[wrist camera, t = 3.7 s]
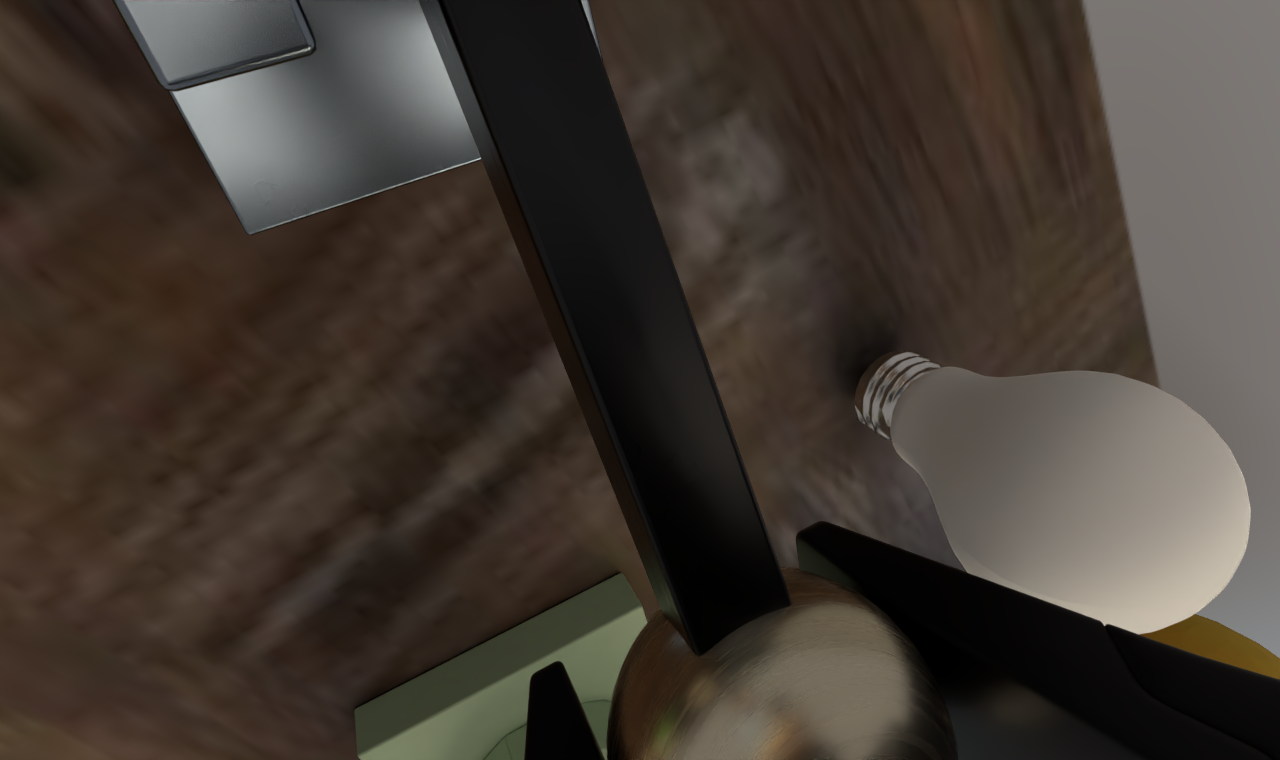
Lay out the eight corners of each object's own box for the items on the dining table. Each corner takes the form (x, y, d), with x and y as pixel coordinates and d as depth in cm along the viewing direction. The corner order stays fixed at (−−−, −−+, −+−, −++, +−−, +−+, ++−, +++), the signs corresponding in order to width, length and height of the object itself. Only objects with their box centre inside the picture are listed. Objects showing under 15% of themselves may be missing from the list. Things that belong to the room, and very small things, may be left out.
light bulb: (807, 492, 25) (1095, 747, 16) (779, 339, 21) (1128, 555, 12) (948, 411, 26) (1285, 603, 17) (943, 256, 23) (1363, 394, 14)
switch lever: (855, 701, 10) (1087, 909, 6) (633, 840, 9) (764, 1167, 6) (501, -336, 7) (579, -930, 4) (132, -285, 6) (-215, -1005, 3)
